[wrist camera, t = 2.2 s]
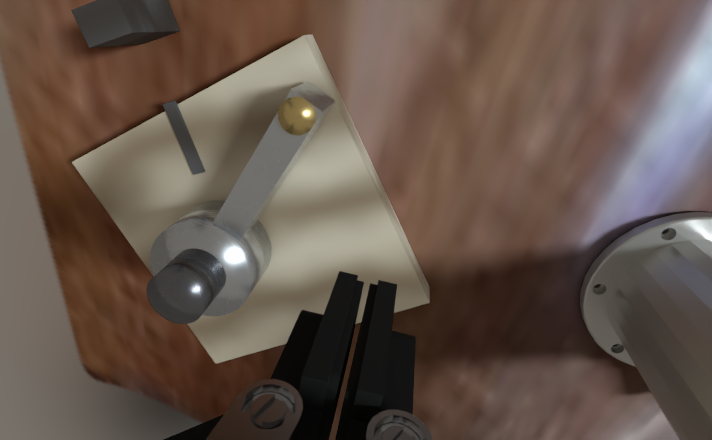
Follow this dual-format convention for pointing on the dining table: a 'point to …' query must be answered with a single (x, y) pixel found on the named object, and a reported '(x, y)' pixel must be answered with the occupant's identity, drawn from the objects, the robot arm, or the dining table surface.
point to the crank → (232, 223)
